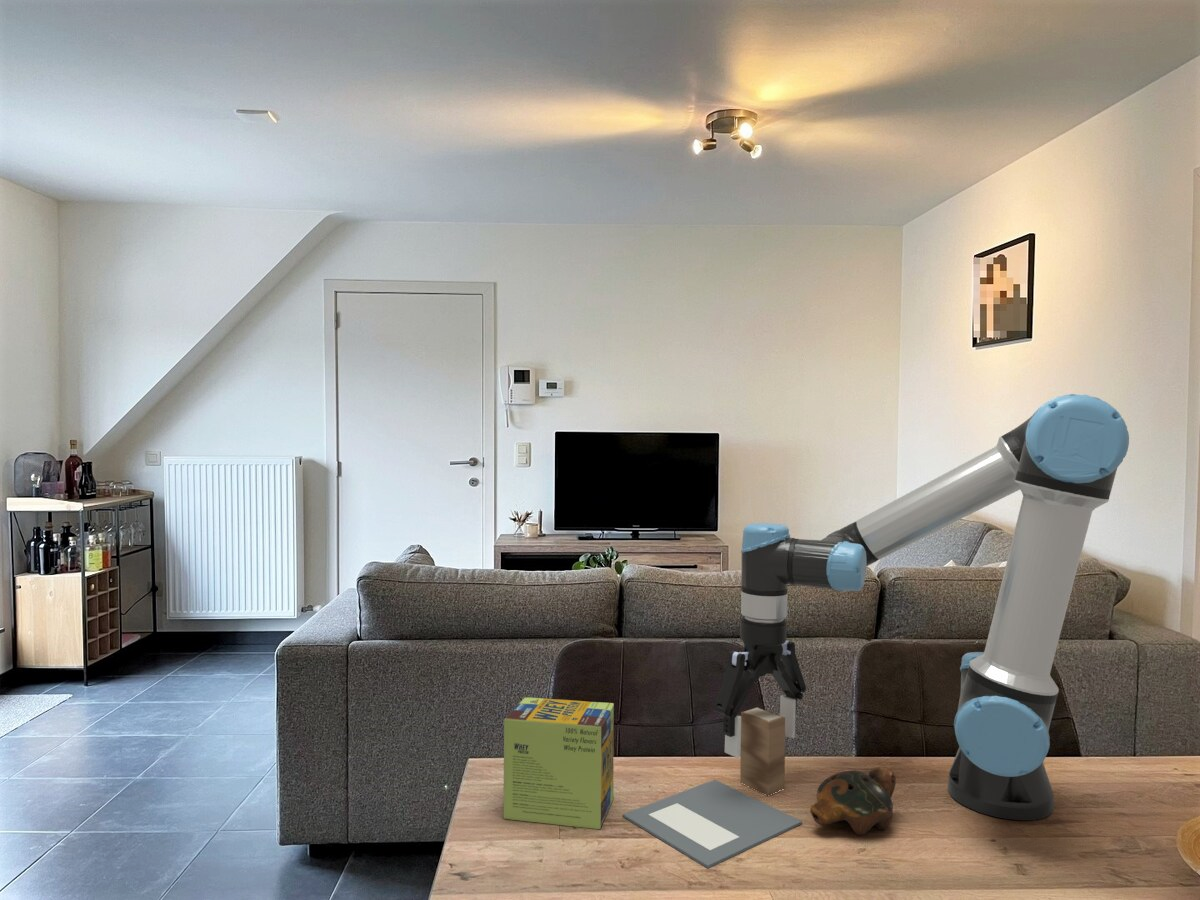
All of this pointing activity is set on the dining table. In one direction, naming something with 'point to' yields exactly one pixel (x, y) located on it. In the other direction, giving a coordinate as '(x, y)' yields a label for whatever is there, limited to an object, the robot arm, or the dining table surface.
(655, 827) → the mat
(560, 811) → the protein box
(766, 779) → the walnut block
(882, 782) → the decorative turtle
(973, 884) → the dining table surface
